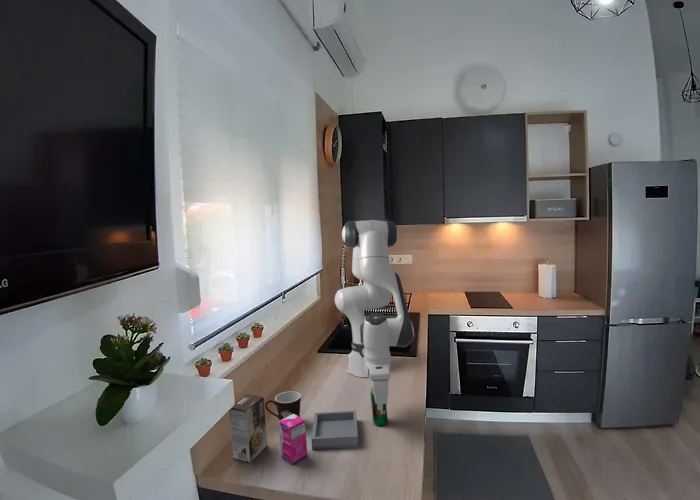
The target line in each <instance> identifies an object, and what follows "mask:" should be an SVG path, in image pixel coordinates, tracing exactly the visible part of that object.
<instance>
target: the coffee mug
mask: <svg viewBox="0 0 700 500" xmlns="http://www.w3.org/2000/svg"><path fill="white" fill-rule="evenodd" d="M301 400H302V396H301V393H300V392H298V391H295V390H294V391H293V390H292V391H291V390H290V391H284V392H280V393H279V394H277V395H276V396H275V398H274V400H272V399H269V400H268V401H266V402H265V403H264V408H265V409H266V410H267V412H269V414H271V415H272V416H274V417H276V418H277V419H278V422H279V421H280V420H282V419H284V418H286V417H288V416H290V415H292V414H295V415H297V416H299V417H300V415H301ZM269 403H273V404H274V405H275V406H276V412H277V414H276V413H275V412H273V411H271V409H269V408H268V404H269ZM300 418H301V417H300Z"/></svg>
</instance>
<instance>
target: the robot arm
mask: <svg viewBox="0 0 700 500" xmlns="http://www.w3.org/2000/svg"><path fill="white" fill-rule="evenodd" d="M398 231H399V230H398V228H397V225H396V223H395V222H394V221H389V220H375V219H370V220H349V221H346V223H345V224H344V225H343V228H342V231H341V238H342V241H343V244H344V245H345V246H346V247H348V248H352V260H351V261H352V263H351V272H352V275H353V276H354V277H355V278H357V279H358V280H360V281H362V283H363V284H361V285H354V286H353V285H352V286H347V287H343V288H340V289H338V290H337V291H336V293H335V295H334V304H335V306H336V308H337V309H338V311H340V312H341V313H343V314H344V315H345V316H346V317H347V318H348V320H349V322H350V325H351V335H352V340H351V352H350V353H348V364H347V367H346V368H345V371H344V372H345V373H346V374H349V375H351V376H355V377H357V378H369V380H370V381H371V386H372V387H373V393H374V399H375V403H376V404H377V409H378V410H382V409H383V404H388V395H389V380H390V379H391V370H392V361H391V360H392V359H391V351H390V347H396V348H397V347H398V348H407V347H408V346H410V345H411V343H413V342H414V339H415V329H414V326H413V322H412V321H411V318H410V313H409V309H408V308H409V307H408V304H407V300H406V296H405V292H404V288H403V284H402V280H401V277H400V275H399V274H398V273H397V272H395V271H394V270H393V268H392V266H391V263H390V252H389V251H390V250H389V248H391V247H393V246H394V245H395V244H397V242H398V241H397V240H398V237H399V232H398ZM392 297H393V300H394V304H395V309H396V315H397V316H396V317H389V318H387V316H386V315H384V314H381V313H372V314H368V315H365V311H369V310H377V309H381V308H384V307H386V306H388V305H389V304H390V302H391V300H392ZM372 387H371V388H372Z"/></svg>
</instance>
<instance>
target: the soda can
mask: <svg viewBox="0 0 700 500" xmlns="http://www.w3.org/2000/svg"><path fill="white" fill-rule="evenodd" d="M369 393H370V402H371V405H370V406H371V413H372V422H373V424H374V425H376V426H378V427H381V426H385V425H386V424H388V421H389V416H388V406H387V404H388V403H386V404H383V409H382V410H378V409H377V404H376V403H375V399H374V393H373V387H371V388H370V392H369Z"/></svg>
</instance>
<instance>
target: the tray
mask: <svg viewBox="0 0 700 500" xmlns="http://www.w3.org/2000/svg"><path fill="white" fill-rule="evenodd" d="M357 421H358V419H357V410H343V411H341V410H340V411H325V412H314V418H313V426H312V430H311V451H316V450H317V451H320V450H334V449H335V450H336V449H337V450H339V449H351V448H353V449H355V448H359V436H358V435H359V432H358V422H357Z"/></svg>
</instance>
